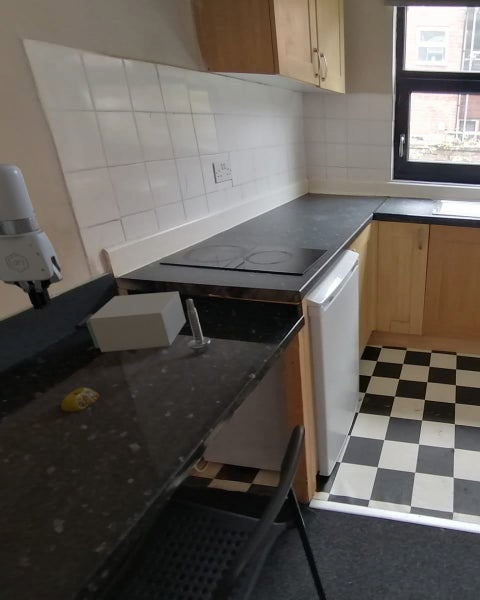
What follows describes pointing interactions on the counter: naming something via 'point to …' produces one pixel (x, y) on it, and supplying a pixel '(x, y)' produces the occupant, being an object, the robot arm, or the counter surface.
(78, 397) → the fruit
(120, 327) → the pale grey box
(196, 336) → the screw
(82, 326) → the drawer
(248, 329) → the counter surface
